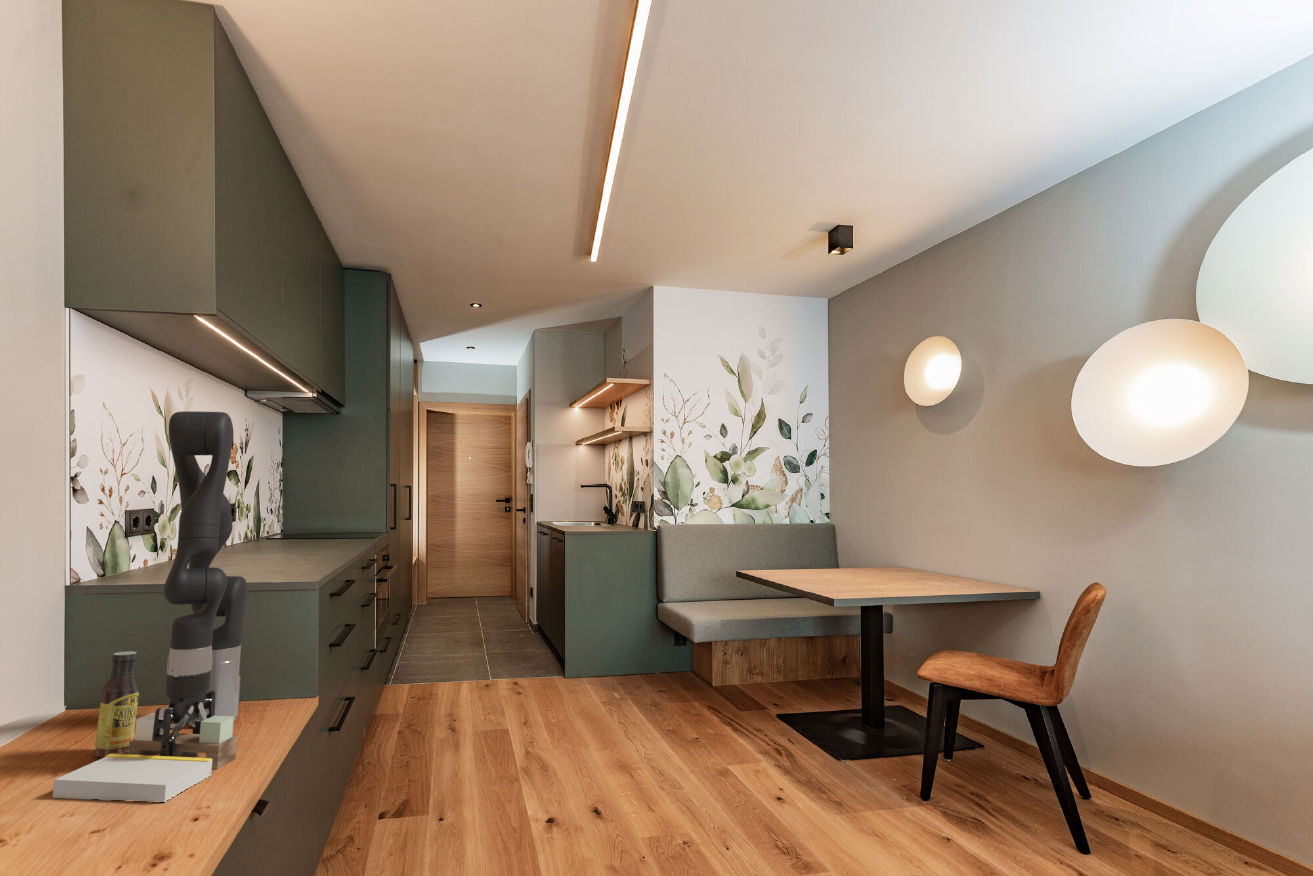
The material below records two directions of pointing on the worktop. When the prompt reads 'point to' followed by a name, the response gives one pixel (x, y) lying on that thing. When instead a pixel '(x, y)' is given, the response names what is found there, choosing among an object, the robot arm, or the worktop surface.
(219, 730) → the block
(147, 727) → the white crate
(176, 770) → the block
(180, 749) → the pallet
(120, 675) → the sauce bottle
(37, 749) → the worktop surface
